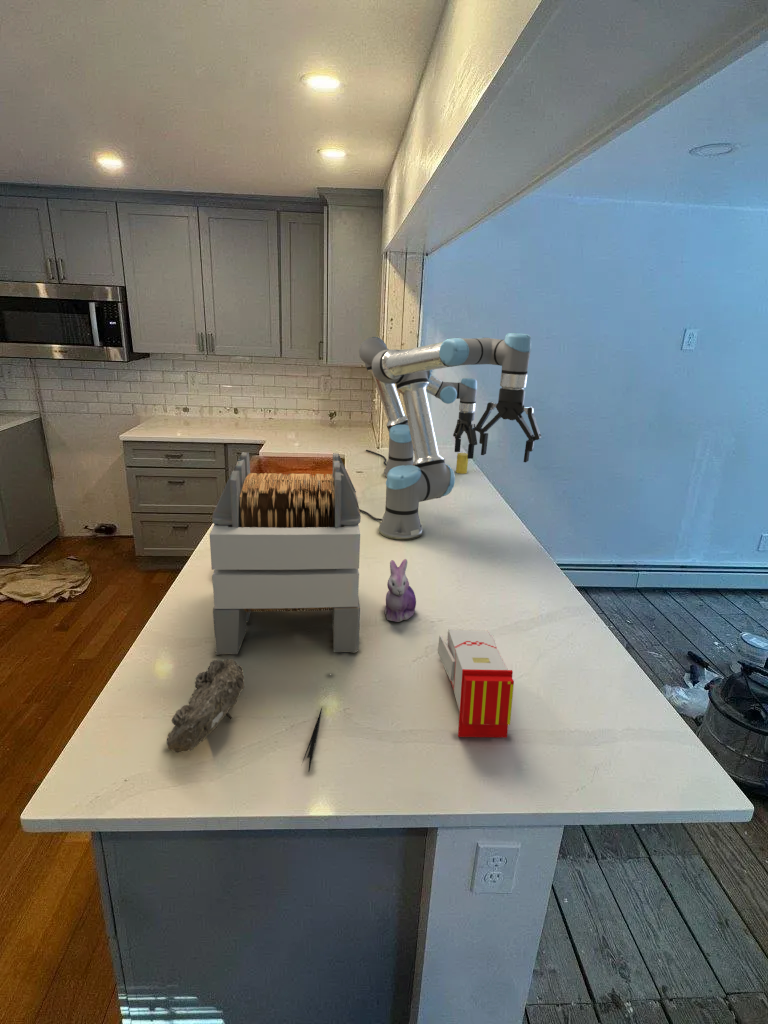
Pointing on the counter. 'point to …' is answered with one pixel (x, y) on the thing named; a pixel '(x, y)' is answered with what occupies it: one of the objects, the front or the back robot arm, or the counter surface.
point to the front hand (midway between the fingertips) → (504, 457)
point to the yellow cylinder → (462, 463)
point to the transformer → (285, 551)
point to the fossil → (206, 705)
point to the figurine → (399, 594)
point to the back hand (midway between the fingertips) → (463, 455)
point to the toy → (478, 682)
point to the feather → (313, 740)
